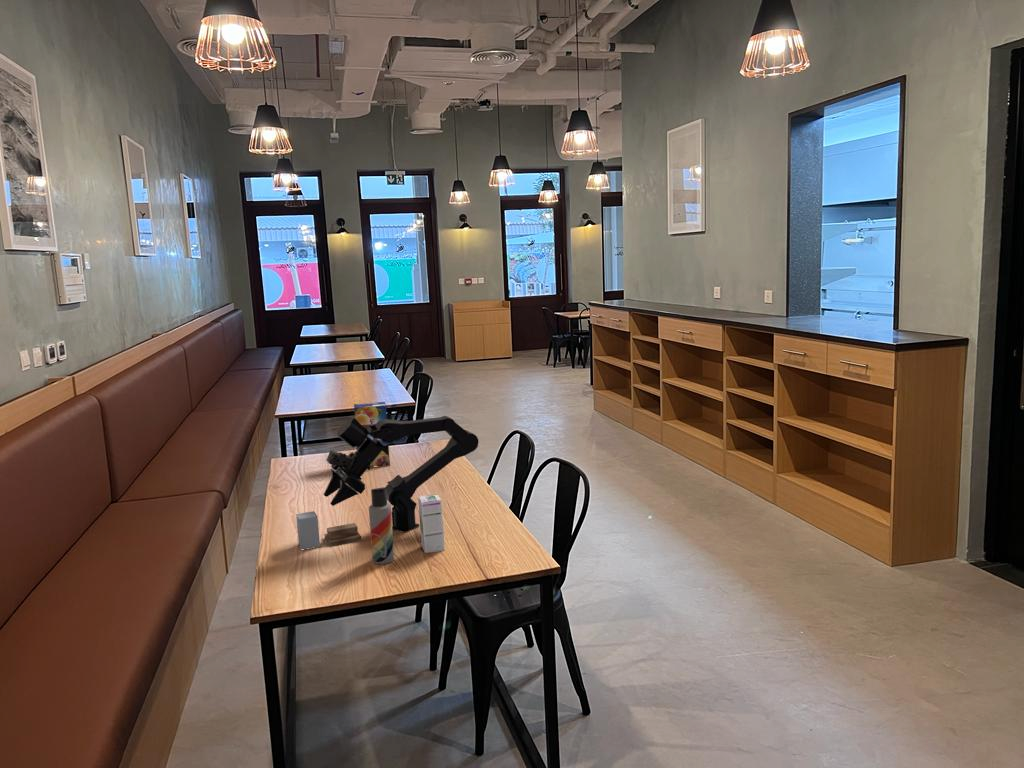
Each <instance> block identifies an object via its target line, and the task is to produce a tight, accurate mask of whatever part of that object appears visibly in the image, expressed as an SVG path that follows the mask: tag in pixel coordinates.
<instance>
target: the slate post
mask: <svg viewBox="0 0 1024 768" xmlns="http://www.w3.org/2000/svg"><path fill="white" fill-rule="evenodd" d="M295 516H296V528H297V529H296V530H297V539H298V545H300V546H299V548H300V547H301V548H300V549H307V548H312V549H314V548H313V547H317V548H320V547H321V542H320V532H319V531H320V529H319V518H318V514H317V513H316V511H314V510H313V511H307V512H301V513H296V515H295ZM307 550H308V549H307Z"/></svg>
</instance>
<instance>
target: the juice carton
mask: <svg viewBox="0 0 1024 768" xmlns="http://www.w3.org/2000/svg"><path fill="white" fill-rule="evenodd" d="M353 408H354V409H353V410H354V412H353V413H354V418H355V419H356V420H357V421H358V422H359V423H360V424H361V425H362V426H364V427H367V426H371V425H374V424H376V423H377V422H378V421H379V420H382V419H388V415H387V404H386V401H380V402H379V401H378V402H377V401H376V402H367V403H365V402H364V403H354V404H353ZM367 436H368V437H369V438H370V439H371V440H374V439H375V438H373V437H372V436H371V435H369V434H368V435H367ZM366 439H367V438H366ZM377 440H379V441H380V442H381V443H382V444H388V445H389V447H390V442H384V441H382V440H381V439H377ZM359 447H360V446H359ZM359 447H357V446H356V448H357V449H358V448H359ZM389 447H388V449H389V450H390V448H389ZM357 449H356V450H357ZM390 462H391V460H390V453H389V454H388V455H387V454H386V453H385V452H383V451H382V452H381V453H380V454H379V455H378V457H377V458H376V459H375V460H374V461H373V463H372V464H371V465H370V467H372V468H375V467H374V466H382V467H384V466H383V465H390V466H391V463H390Z"/></svg>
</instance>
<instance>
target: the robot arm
mask: <svg viewBox="0 0 1024 768" xmlns="http://www.w3.org/2000/svg"><path fill="white" fill-rule="evenodd" d="M439 432H446V434H448V435H449V436H450V438H449V440H448V442H447V443H446V445H445V447H444V448H442V449H441V450H440V451H438V452H436V454H434V455H433V456H432V457H430V458H429V459H428V460H427V461H426V462H425V461H424V463H423V464H421V465H420V466H418V468H416V469H415V470H414V471H412V472H411V473H410V474H409V475H406V476H403V477H402V476H401V475H400V474H397V475H396V476H395V477H394V478H393V479H391V480H389V481H387V482H386V483H387V485H386V486H384V488H386V495H387V502H388V503H389V504H390V505H391V517H392V531H397V532H402V533H407V532H410V531H411V530H413V529H415V528H419V527H420V523H416V507H417V502H415V501H414V500H413V499H412V498H413V496H414V494H415V493H416V491H417V489H418V488H419V487H421V486H422V485H423V484H424V483H425V482H427V481H428V480H429V479H431V478H432V477H433V476H435V475H436V474H438V472H440V471H441V470H443V468H445V467H446V466H448V465H449V464H450V463H451V462H453V461H454V460H456V459H459V458H461V457H464V456H467V455H469V454H471V453H472V452H475V450H477V448H478V447H479V442H480V441H479V438H478V436H477V435H476V434H474V433H473V432H472V431H471V432H470V431H469V430H467V429H464V428H463V427H462V426H461V425H459V424H458V423H457V422H456V421H455V420H454V419H453V418H451V417H449V416H447V415H443V416H441V417H440V416H439V417H431V418H423V419H414V420H399V419H398V420H397V419H388V418H387V419H382V420H379V421H378V422H377V423H376V424H374V425H371V426H367V427H364V426H362V425H361V424H360V423H359V422H358V421H357V420H356V419H355V416H354V417H351V419H349V420H347V421H346V422H345V423H343V424H342V425H341V426H340V428H339V429H338V431H337V432H336V435H337V436H338V437H339V439H341V440H343V442H345V443H346V444H347V445H348V446H350V447H351V448H355V447H356V448H357V447H359V446H360V447H359V448H358V449H356V450H355V452H350V453H349V454H348V455H347V454H346V453H343V452H341V451H340V452H338V451H335V450H333V449H332V450H329V453H328V455H327V458H326V462H327V463H328V464H329V465H330V467H331V468H330V473H331V477H330V480H329V482H328V484H327V487H326V489H325V491H324V492H323V496H324V497H326V498H327V497H329V496H330V495H332V494H333V493H335V495H334V496H333V498H332V499H331V502H330V505H331V506H332V507H333V506H336V505H338V504H340V503H342V502H344V501H346V500H348V499H350V498H352V497H355V496H358V495H359V494H360V495H362V493H363V492H364V491H365V490H366V484H365V483H364V482H363V481H362V479H363V478H362V476H363V475H364V473H366V471H367V470H368V471H370V470H371V469H372V468H371V467H370V465H371V464H372V463H373V461H374V460H375V459H376V458H377V457H378V455H379V454H380V453H381V452H382V451H383V452H385V453H386V454H387V455H388V454H389V455H390V448H389V449H388V447H390V444H389V445H388V444H382V443H381V442H380V441H379V440H377V439H381V440H382V441H384V442H389V443H392V442H396V441H399V440H401V439H403V438H406V437H408V436H413V435H422V434H431V433H439ZM368 434H369V435H371V436H372V437H373V438H375V439H374V440H371V439H370V438H369V437H368V436H367V435H368ZM338 437H337V438H338ZM366 438H367V439H366Z"/></svg>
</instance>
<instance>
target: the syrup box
mask: <svg viewBox="0 0 1024 768" xmlns="http://www.w3.org/2000/svg"><path fill="white" fill-rule="evenodd" d="M417 498H418V516H419V527H420V529H419V531H420V540H421V543H420V544H421V548H422V550H423V552H424V553H425V554H426V553H427V554H430V553H436V552H442V551H443V552H444V551H446V550H445V549H446V548H445V531H444V520H443V518H444V517H443V508H442V507H443V505H442V504H443V503H442V500H441V498H440V497H439V495H438V494H426V495H421V496H418V497H417Z"/></svg>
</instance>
